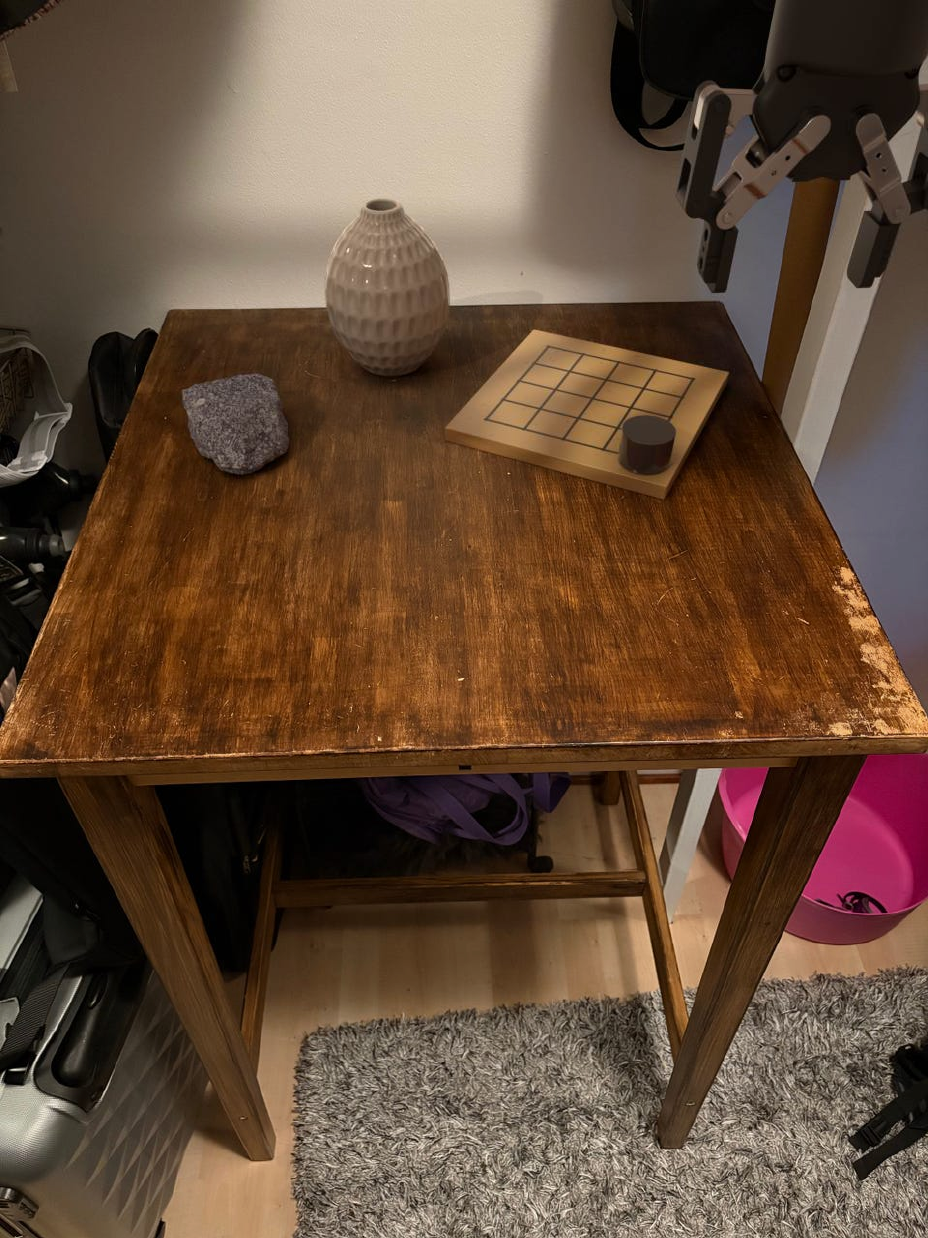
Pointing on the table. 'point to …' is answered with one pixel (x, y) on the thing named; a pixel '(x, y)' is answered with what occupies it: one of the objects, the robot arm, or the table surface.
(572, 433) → the board
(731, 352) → the table surface
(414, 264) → the vase
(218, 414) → the rock
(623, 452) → the dark grey puck
